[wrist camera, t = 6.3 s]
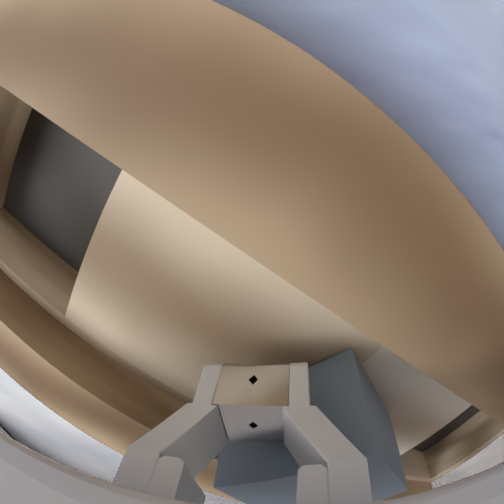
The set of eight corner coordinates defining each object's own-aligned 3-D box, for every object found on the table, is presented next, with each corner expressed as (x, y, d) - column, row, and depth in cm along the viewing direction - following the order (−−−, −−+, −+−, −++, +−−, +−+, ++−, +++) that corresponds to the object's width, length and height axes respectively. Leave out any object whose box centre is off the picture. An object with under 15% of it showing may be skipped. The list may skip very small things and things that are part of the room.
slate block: (289, 448, 12) (288, 520, 9) (228, 396, 11) (213, 487, 7) (389, 414, 11) (408, 490, 7) (352, 348, 9) (376, 450, 6)
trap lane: (385, 475, 19) (393, 522, 14) (-12, 256, 13) (-65, 294, 9) (539, 355, 13) (570, 399, 8) (86, -12, 8) (15, -45, 3)
